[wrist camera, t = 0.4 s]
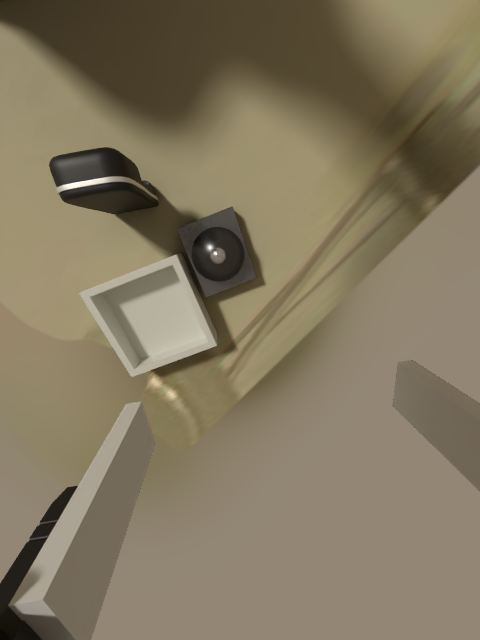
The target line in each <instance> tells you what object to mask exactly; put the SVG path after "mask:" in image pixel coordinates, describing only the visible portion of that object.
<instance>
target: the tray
mask: <svg viewBox="0 0 480 640" xmlns="http://www.w3.org/2000/svg"><path fill="white" fill-rule="evenodd" d="M79 294H80V296H81V297H82V299H83V300H84V302H85V304H86V305H87V307H88V308H89V310H90V312H91V313H92V315H93V316H94V318H95V320H96V321H97V323H98V324H99V326H100V328H101V329H102V331H103V332H104V334H105V335H106V337H107V339H108V340H109V342H110V343H111V345H112V347H113V348H114V350H115V351H116V353H117V354H118V356H119V358H120V359H121V361H122V362H123V364H124V366H125V367H126V369H127V371H128V372H129V374H130V375H131V377H133V376H136V375H139V374H141V373H144V372H147V371H150V370H152V369H155V368H158V367H160V366H163V365H166V364H169V363H171V362H174V361H177V360H180V359H182V358H185V357H188V356H190V355H193V354H196V353H199V352H201V351H204V350H207V349H210V348H212V347H215V346H217V339H218V335H217V333H216V330H215V328H214V326H213V323H212V321H211V319H210V317H209V314H208V312H207V310H206V307H205V305H204V303H203V301H202V298H201V296H200V294H199V292H198V289H197V287H196V285H195V282H194V280H193V278H192V276H191V273H190V271H189V269H188V266H187V264H186V262H185V260H184V257H183V255H182V253H179V254H176V255H173V256H171V257H168V258H166V259H163V260H161V261H158V262H156V263H153V264H151V265H148V266H145V267H143V268H140V269H138V270H135V271H133V272H130V273H128V274H125V275H123V276H120V277H117V278H115V279H112V280H110V281H107V282H105V283H102V284H100V285H97V286H95V287H92V288H89V289H87V290H84V291H82V292H79Z"/></svg>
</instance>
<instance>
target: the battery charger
mask: <svg viewBox="0 0 480 640" xmlns="http://www.w3.org/2000/svg"><path fill="white" fill-rule="evenodd" d="M49 167H50V171H51V174H52V176H53V179H54V181H55V184H56V186H57V188H56V189H57V192H58V194H59V195H60V197H61V199H62V200H63V201H64V202H66V203H68V204H72V205H76V206H79V207H84V208H88V209H93V210H98V211H103V212H107V213H111V214H117V213H123V212H129V211H134V210H140V209H145V208H151V207H156V206H158V197H157V196H156V192H155V190H154V188H153V186H152V185H151V183H149V182H148V181H141V177H140V174H139V171H138V168H137V167H136V165H135V164H134V163H133V162H132V161H131V160H130V159H128V158H127V157H126V156H125V155H123V154H122V153H120V152H119V151H117V150H115V149H112V148H107V147H104V148H97V149H91V150H85V151H79V152H74V153H68V154H63V155H58V156H56V157H53V158H52V159H51V161H50V165H49Z"/></svg>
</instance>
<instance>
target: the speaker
mask: <svg viewBox="0 0 480 640" xmlns="http://www.w3.org/2000/svg"><path fill="white" fill-rule="evenodd" d="M176 230H177V232H178V234H179V237H180V239H181V241H182V243H183V246H184V248H185V250H186V253H187V255H188V257H189V260H190V262H191V264H192V267H193V269H194V271H195V274H196V276H197V278H198V281H199V283H200V285H201V287H202V290H203V292H204V294H205V297H209V296H211V295H214V294H216V293H219V292H222V291H224V290H227V289H230V288H232V287H235V286H238V285H240V284H243V283H245V282H248V281H251V280H253V279H256V278H257V277H256V274H255V271H254V268H253V265H252V262H251V259H250V256H249V253H248V250H247V248H246V245H245V242H244V239H243V236H242V233H241V230H240V227H239V224H238V221H237V218H236V215H235V212H234V209H233V206H232V207H230V208H227V209H225V210H222V211H220V212H217V213H215V214H212V215H210V216H207V217H205V218H202V219H200V220H197V221H195V222H192V223H190V224H187V225H185V226H182V227H180V228H177V229H176Z"/></svg>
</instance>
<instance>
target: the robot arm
mask: <svg viewBox="0 0 480 640" xmlns="http://www.w3.org/2000/svg"><path fill="white" fill-rule="evenodd" d="M393 407H395V409H396V410H398V411H399V413H401V414H402V415H403V416H404V417H405V418H406V419H407V420H408V421H409V422H410V423H411V424H412V425H413V426H414V427H415V428H416V429H417V430H418V431H419V432H420V433H421V434H422V435H423V436H424V437H425V438H426V439H427V440H428V441H429V442H430V443H431V444H432V445H433V446H434V447H435V448H436V449H437V450H438V451H439V452H440V453H441V454H442V455H443V456H444V457H445V458H446V459H447V460H448V461H449V462H450V463H451V464H452V465H453V466H455V467H456V468H457V470H458V471H460V472H461V473H462V474H463V475H464V476H465V477H466V478H467V479H468V480H469V481H470V482H471V483H472V484H473V485H474V486H475V487H476V488H477V489H478V490H479V491H480V403H479V402H477V401H476V400H474V399H472V398H471V397H469V396H468V395H466V394H465V393H463V392H461V391H460V390H458V389H457V388H455V387H454V386H452V385H451V384H449V383H447V382H446V381H444V380H443V379H441V378H440V377H438V376H436V375H435V374H433V373H432V372H430V371H429V370H427V369H426V368H424V367H422V366H421V365H419V364H418V363H416V362H415V361H413V360H411V361H405V362H398V367H397V375H396V383H395V391H394V399H393ZM154 446H155V440H154V437H153V434H152V431H151V428H150V425H149V422H148V419H147V416H146V413H145V410H144V407H143V404H142V402H136V403H130V404H126V405H125V407H124V409H123V410H122V412H121V414H120V415H119V417H118V419H117V421H116V422H115V424H114V426H113V428H112V429H111V431H110V432H109V434H108V436H107V438H106V439H105V441H104V443H103V445H102V446H101V448H100V450H99V451H98V453H97V455H96V456H95V458H94V460H93V462H92V463H91V465H90V467H89V468H88V470H87V472H86V473H85V475H84V477H83V479H82V481H81V482H80V484H79V485H78V486H74V487H68V488H66V489H65V491H64V492H63V493H62V494H61V495H60V496H59V497H58V498H57V499H56V500H55V501H54V502H53V503H52V504H51V506H50V507H49V509H48V511H47V512H46V514H45V515H44V517H43V518H42V520H41V521H40V525H39V526H37V527H36V529H35V531H34V532H33V534H32V535H31V537H30V540H29V542H27V543H26V545H25V546H24V548H23V549H22V551H21V552H20V554H19V555H18V557H17V558H16V560H15V561H14V563H13V565H12V566H11V568H10V569H9V571H8V573H7V574H6V575H5V577H4V579H3V580H2V582H1V583H0V640H91V638H92V634H93V632H94V629H95V625H96V623H97V620H98V617H99V613H100V611H101V607H102V604H103V601H104V598H105V595H106V592H107V589H108V586H109V583H110V580H111V577H112V574H113V571H114V568H115V565H116V562H117V559H118V556H119V553H120V550H121V546H122V543H123V541H124V538H125V535H126V531H127V528H128V525H129V522H130V519H131V516H132V513H133V510H134V507H135V504H136V501H137V498H138V495H139V492H140V489H141V485H142V483H143V479H144V477H145V474H146V471H147V467H148V465H149V462H150V458H151V456H152V452H153V449H154Z"/></svg>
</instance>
